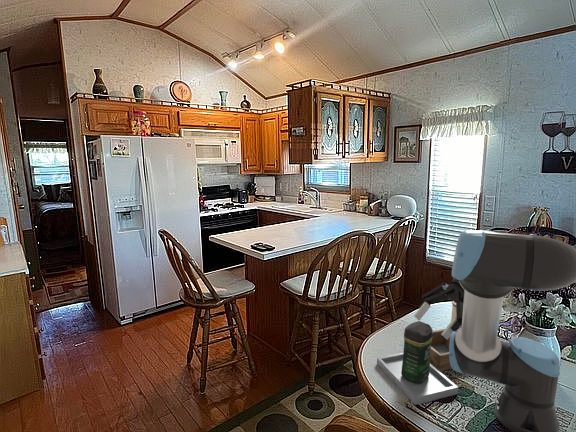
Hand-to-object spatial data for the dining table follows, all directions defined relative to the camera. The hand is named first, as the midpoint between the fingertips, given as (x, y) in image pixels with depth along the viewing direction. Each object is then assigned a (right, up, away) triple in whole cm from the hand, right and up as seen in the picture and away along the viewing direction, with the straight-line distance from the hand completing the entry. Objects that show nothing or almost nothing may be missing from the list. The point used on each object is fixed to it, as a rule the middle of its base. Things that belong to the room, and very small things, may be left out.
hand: (429, 327), depth 118 cm
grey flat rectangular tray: (-4, -18, +2) cm, 18 cm away
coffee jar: (-4, -17, +1) cm, 18 cm away
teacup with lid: (+31, -10, +41) cm, 53 cm away
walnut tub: (+10, -15, +14) cm, 23 cm away
